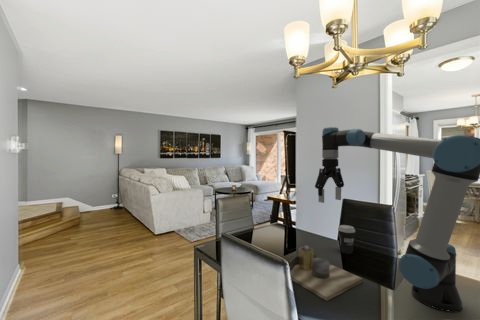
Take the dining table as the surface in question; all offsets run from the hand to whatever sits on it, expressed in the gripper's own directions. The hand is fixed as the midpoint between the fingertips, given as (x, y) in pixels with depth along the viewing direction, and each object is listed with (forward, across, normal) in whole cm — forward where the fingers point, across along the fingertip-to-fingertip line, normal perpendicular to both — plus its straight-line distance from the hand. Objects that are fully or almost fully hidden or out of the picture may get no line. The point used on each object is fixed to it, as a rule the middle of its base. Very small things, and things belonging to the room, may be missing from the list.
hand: (330, 201), depth 115 cm
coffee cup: (+35, -28, -9) cm, 46 cm away
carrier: (+35, +10, +2) cm, 36 cm away
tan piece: (+33, +10, -6) cm, 35 cm away
